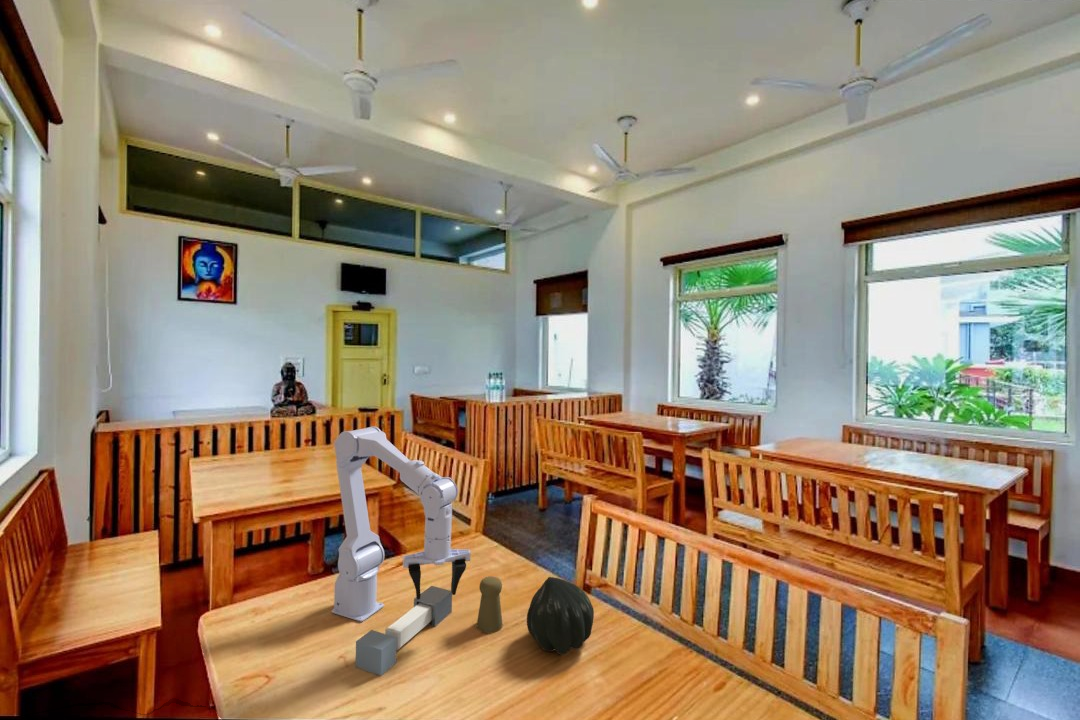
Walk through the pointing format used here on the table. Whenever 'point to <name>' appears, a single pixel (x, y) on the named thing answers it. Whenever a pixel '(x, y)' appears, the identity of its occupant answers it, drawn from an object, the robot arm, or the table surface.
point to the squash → (560, 616)
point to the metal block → (436, 603)
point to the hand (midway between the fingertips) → (435, 594)
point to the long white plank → (410, 623)
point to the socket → (376, 652)
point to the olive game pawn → (490, 605)
